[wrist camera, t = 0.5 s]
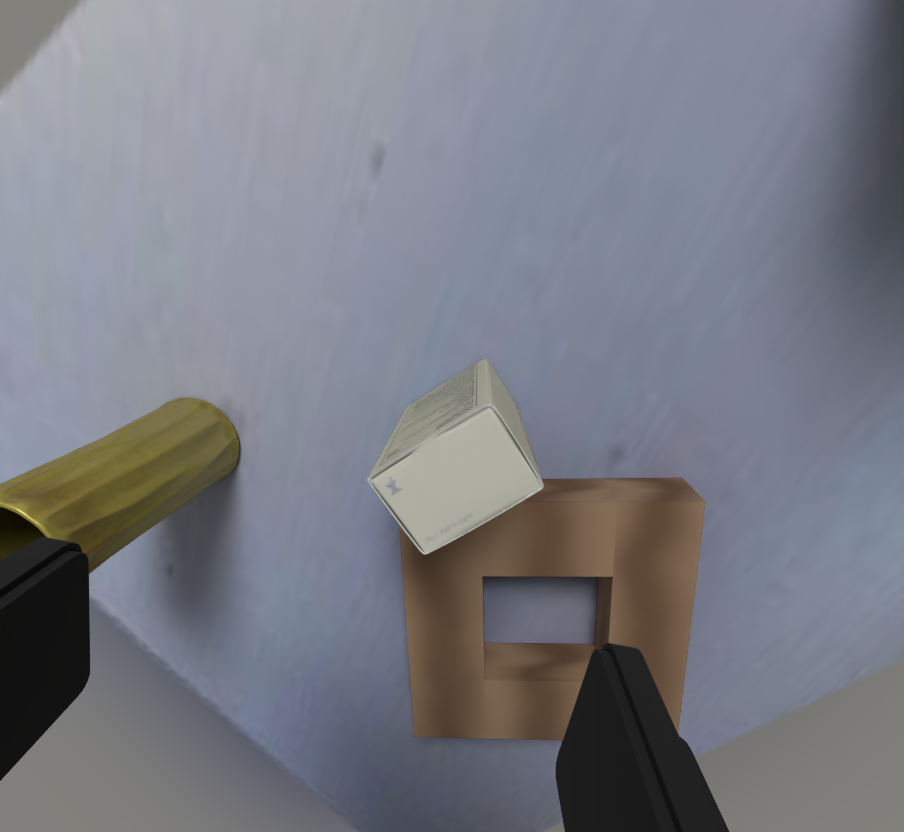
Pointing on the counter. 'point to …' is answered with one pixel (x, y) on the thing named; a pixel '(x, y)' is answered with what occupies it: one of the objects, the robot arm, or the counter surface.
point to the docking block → (552, 555)
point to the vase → (120, 481)
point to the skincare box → (456, 459)
